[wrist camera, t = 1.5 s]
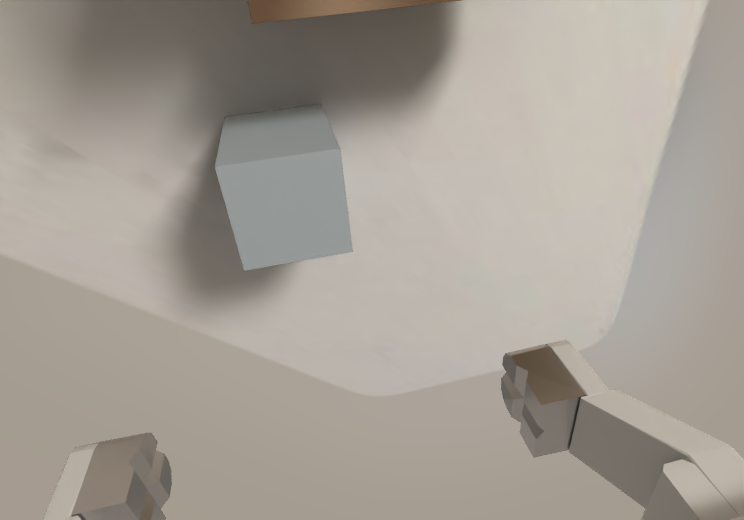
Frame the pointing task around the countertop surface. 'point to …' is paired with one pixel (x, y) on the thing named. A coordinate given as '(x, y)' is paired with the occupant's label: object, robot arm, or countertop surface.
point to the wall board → (321, 7)
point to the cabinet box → (283, 186)
